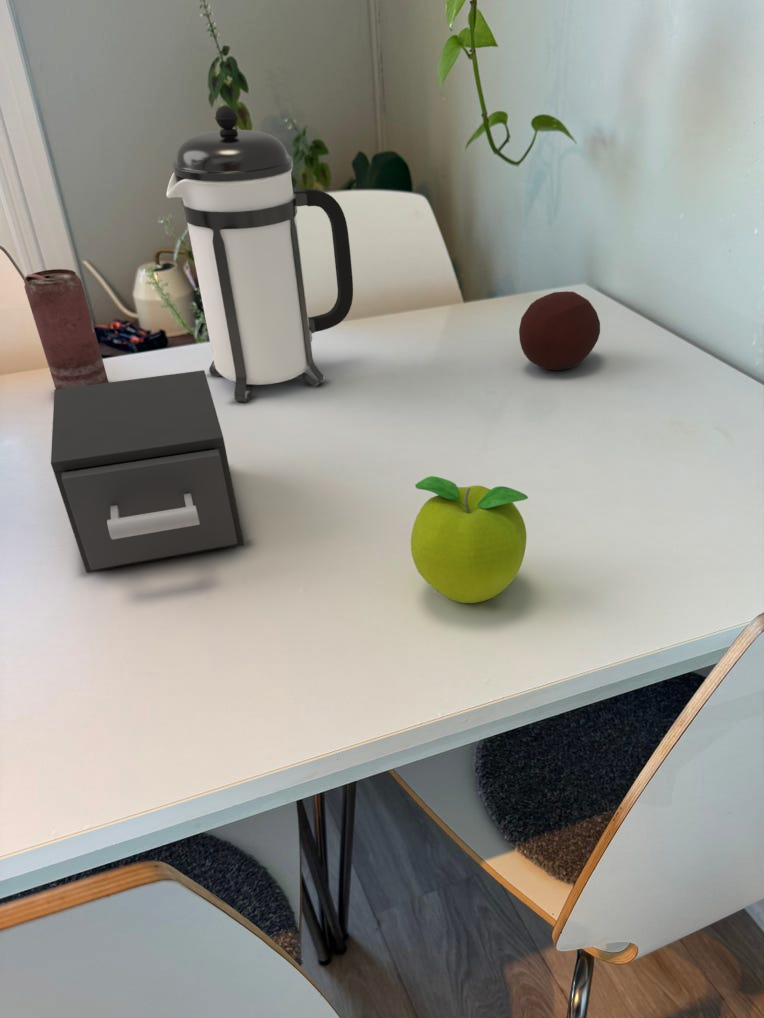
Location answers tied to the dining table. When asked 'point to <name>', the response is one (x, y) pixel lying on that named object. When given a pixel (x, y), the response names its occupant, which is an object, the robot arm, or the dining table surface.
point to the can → (65, 328)
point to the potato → (559, 330)
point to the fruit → (468, 539)
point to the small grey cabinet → (135, 430)
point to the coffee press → (254, 254)
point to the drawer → (151, 507)
